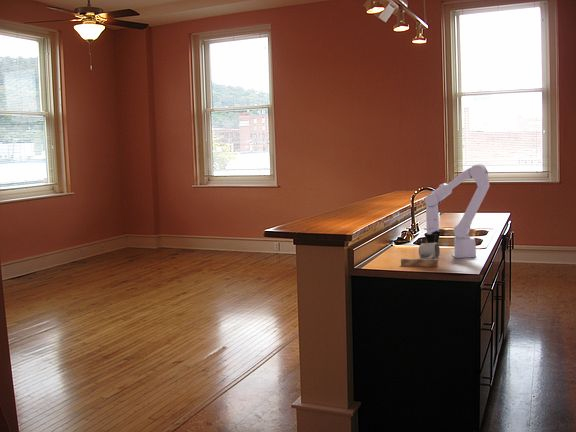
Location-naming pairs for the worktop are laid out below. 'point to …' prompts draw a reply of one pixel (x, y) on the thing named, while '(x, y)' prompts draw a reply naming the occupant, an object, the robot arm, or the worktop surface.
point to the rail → (419, 262)
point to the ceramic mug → (429, 251)
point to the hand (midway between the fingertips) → (433, 247)
